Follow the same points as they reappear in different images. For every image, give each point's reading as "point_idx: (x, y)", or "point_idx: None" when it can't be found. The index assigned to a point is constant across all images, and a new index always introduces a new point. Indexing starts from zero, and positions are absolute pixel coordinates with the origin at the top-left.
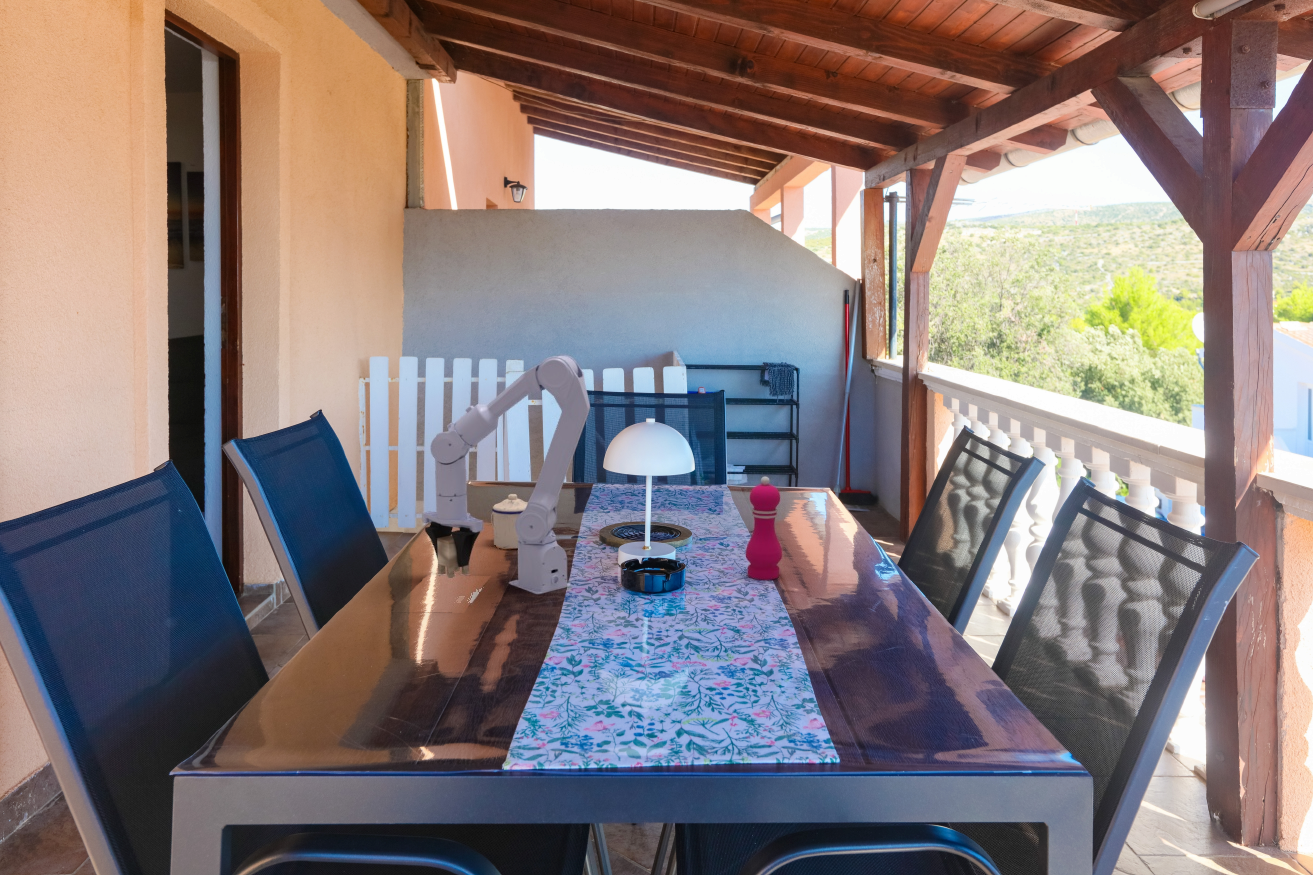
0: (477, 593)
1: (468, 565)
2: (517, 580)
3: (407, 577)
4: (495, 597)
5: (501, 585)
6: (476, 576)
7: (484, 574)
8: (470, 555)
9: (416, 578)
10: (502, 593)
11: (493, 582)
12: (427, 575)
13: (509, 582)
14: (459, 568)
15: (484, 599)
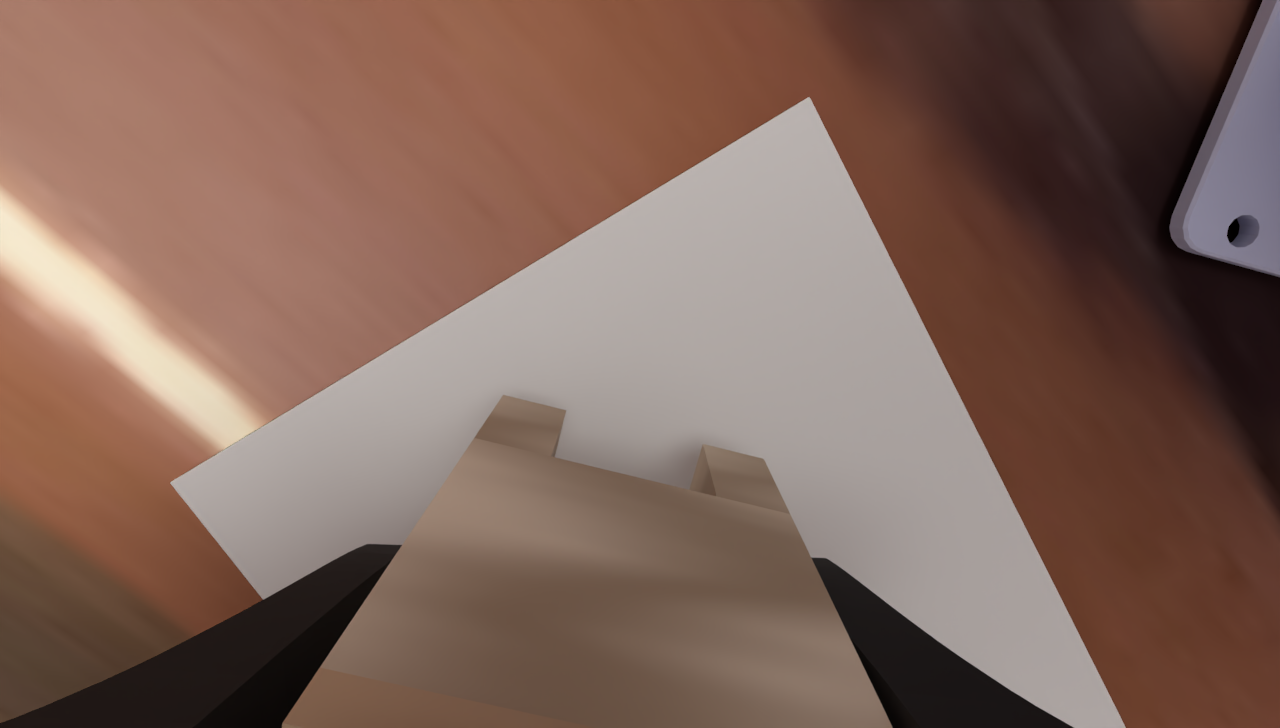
0: (1079, 661)
1: (783, 509)
2: (1246, 133)
3: (65, 592)
4: (1248, 602)
5: (1087, 288)
6: (622, 176)
7: (643, 57)
8: (899, 615)
9: (164, 570)
10: (1245, 483)
11: (943, 250)
12: (156, 441)
13: (1198, 247)
14: (561, 428)
15: (1186, 688)
